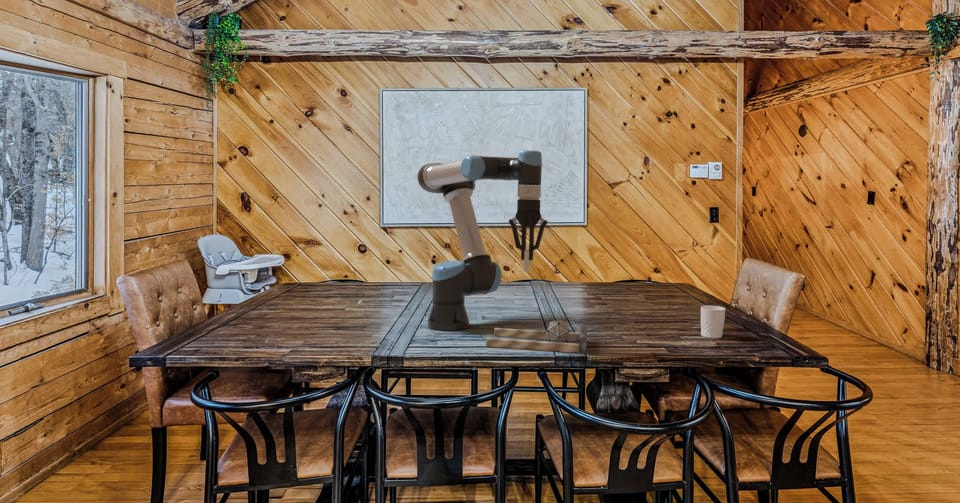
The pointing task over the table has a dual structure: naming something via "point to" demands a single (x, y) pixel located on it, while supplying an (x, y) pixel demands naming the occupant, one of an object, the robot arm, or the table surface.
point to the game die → (557, 331)
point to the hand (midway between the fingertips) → (526, 269)
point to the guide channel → (537, 344)
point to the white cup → (712, 321)
